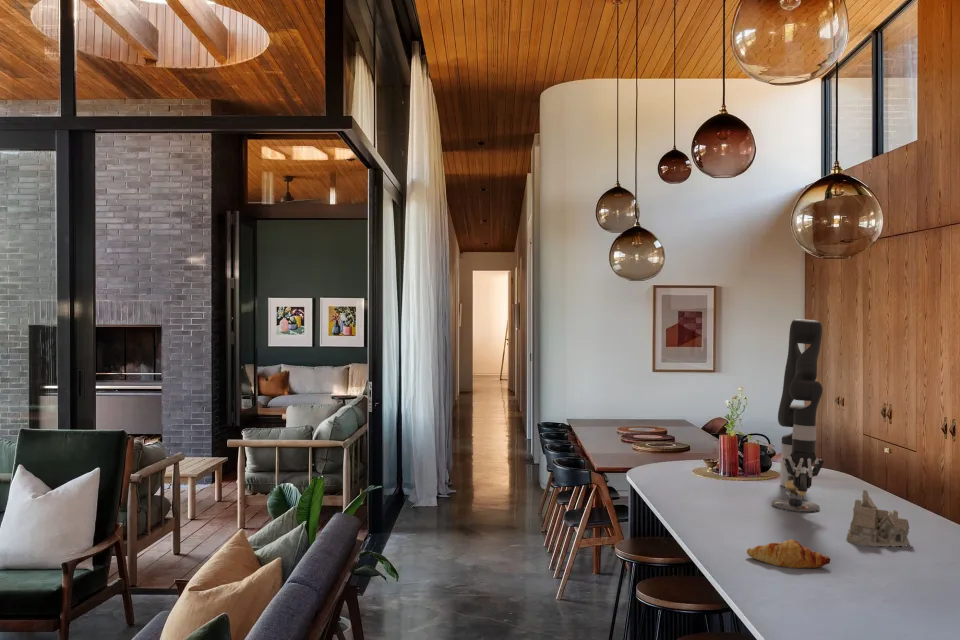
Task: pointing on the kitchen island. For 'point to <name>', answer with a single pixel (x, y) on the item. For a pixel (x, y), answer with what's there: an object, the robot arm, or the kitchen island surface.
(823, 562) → the croissant
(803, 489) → the gold lever handle
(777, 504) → the post base
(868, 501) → the ceramic cottage
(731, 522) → the kitchen island surface
